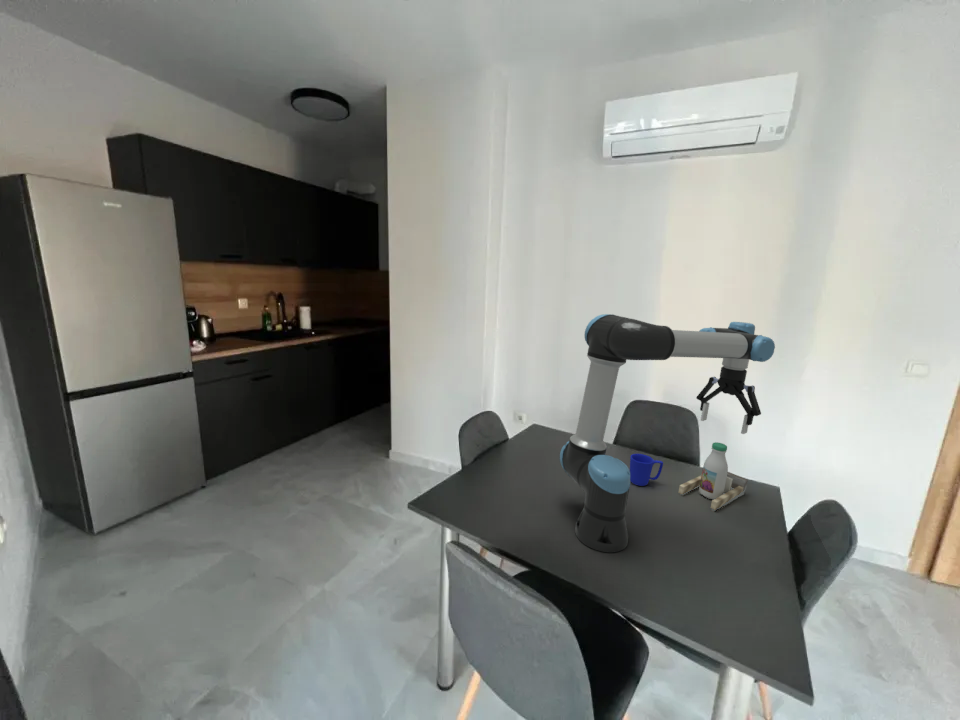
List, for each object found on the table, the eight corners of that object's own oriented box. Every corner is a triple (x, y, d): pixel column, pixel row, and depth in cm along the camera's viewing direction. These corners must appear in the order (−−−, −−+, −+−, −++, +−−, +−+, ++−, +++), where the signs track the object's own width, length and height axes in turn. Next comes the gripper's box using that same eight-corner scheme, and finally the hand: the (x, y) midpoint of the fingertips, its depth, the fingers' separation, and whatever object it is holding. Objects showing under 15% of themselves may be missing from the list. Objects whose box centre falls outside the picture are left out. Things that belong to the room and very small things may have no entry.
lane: (714, 511, 139) (717, 495, 137) (678, 494, 149) (680, 479, 148) (744, 494, 151) (747, 479, 150) (709, 479, 162) (711, 465, 160)
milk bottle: (716, 491, 152) (726, 441, 148) (726, 502, 145) (736, 450, 141) (694, 489, 153) (703, 439, 149) (703, 500, 146) (713, 448, 141)
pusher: (727, 497, 148) (731, 479, 146) (703, 486, 155) (706, 469, 153) (733, 494, 150) (736, 476, 149) (708, 483, 157) (711, 466, 156)
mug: (663, 489, 152) (668, 464, 150) (631, 487, 152) (635, 462, 150) (655, 478, 160) (658, 454, 158) (624, 476, 160) (627, 452, 158)
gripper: (781, 375, 131) (767, 437, 136) (703, 359, 151) (693, 413, 156) (771, 377, 127) (757, 441, 132) (692, 360, 147) (682, 416, 152)
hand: (722, 426), depth 144 cm, fingers open, 13 cm apart
